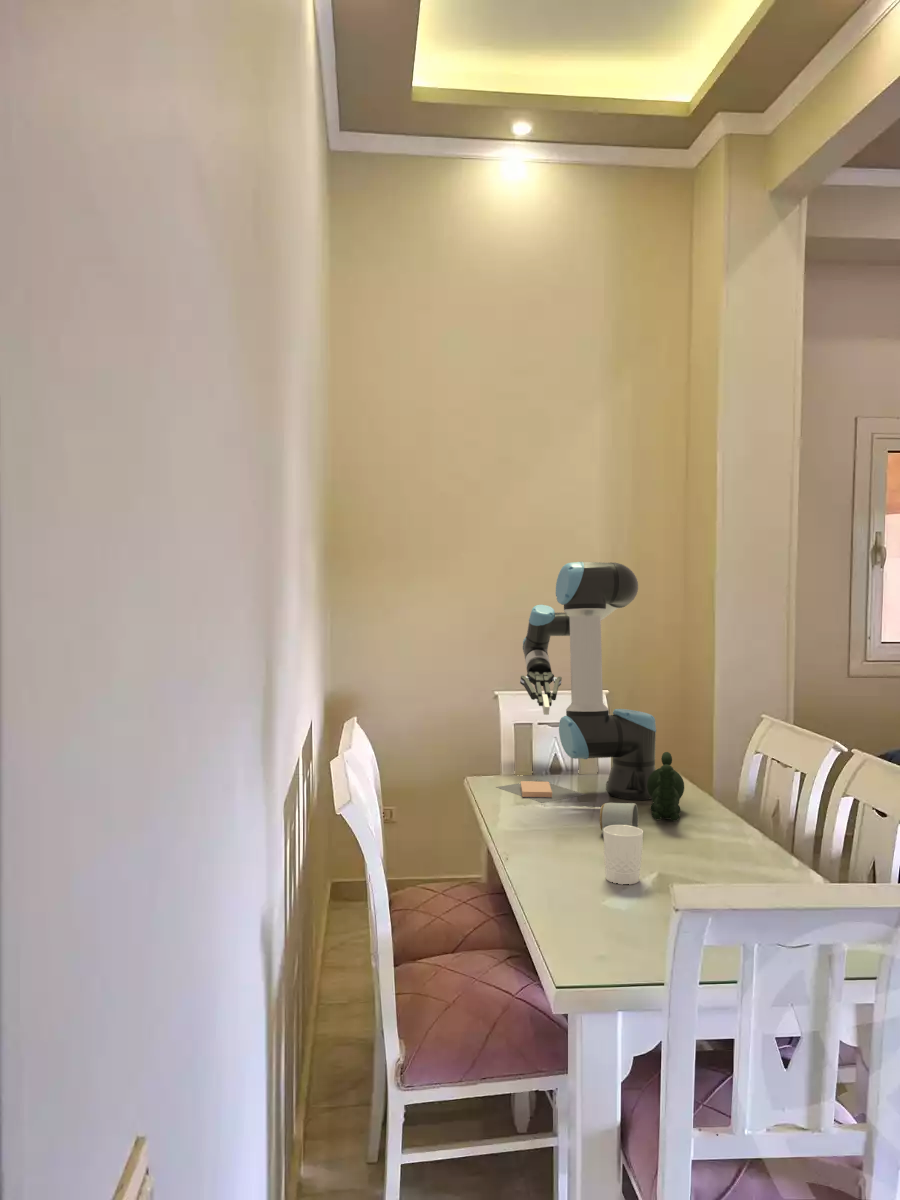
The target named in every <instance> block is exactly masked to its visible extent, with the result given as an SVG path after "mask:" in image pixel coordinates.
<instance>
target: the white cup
mask: <svg viewBox="0 0 900 1200" xmlns="http://www.w3.org/2000/svg"><path fill="white" fill-rule="evenodd" d="M603 832H604V837H603V858H604V866H605V869H604V870H605V872H604V873H605V879H606V880H607V882H611V883H612V882H613V884H616V883H618V884H617V885H623V884H629V885H635V884H637V883H639V882H640V876H641V874H640V873H641V868H642V855H643V845H644V844H643V842H644V841H643V839H644V830H643V829H642V828H639V827H638V828H637V827H634V826H629V825H610V826H607V827H605V828H604V829H603Z"/></svg>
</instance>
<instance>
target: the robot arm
mask: <svg viewBox="0 0 900 1200" xmlns="http://www.w3.org/2000/svg"><path fill="white" fill-rule="evenodd" d="M557 575H558V576H557V579H556V583H555V597H556V600H557V601H556V602H557V603H558V604H560V605H563V611H564V612H556V611H555V608H553V607H552V606H550V605H545V604H537V605H535V606H534V605H533V607H532V609H531V611H530V615H529V618H528V625H527V632H526V636H525V637H524V638H523V641H522V651H523V654H524V656H523V657H524V662H525V668H526V673H527V674H526V676H525V675H523V674H522V675H520V682H519V684H521V685H522V686H523V687H524V689H525V690H526V692H527V694H528V696H529V697H530V699H531V700H536V703H537V704H538V706H539V707H542V713H543V715H546V716H548V715H550V707H551V706H552V704H553V701H556V700H557V695H558V690H559V687H560V686H561V685H562V679H563V678H562V676H557V677H556V676H555V674H554V673H553V671H552V667H551V662H550V657H549V653H548V650H549V645H550V641H551V637H569V648H570V649H569V653H570V654H569V656H570V686H571V687H570V688H571V689H570V691H571V693H570V695H571V699H570V700H571V702H570V705H568V707H567V708H566V709H565V711H566V713H565V714H566V715H564V716H562V717H561V718H560V720H559V724H558V734H559V735H558V736H559V739H560V740H559V741H560V743H561V746H562V749H563V751H564V752H565V754H566V755H567V756H568V757H569V758H571V759H577V760H581V759H583V760H588V759H606V758H612V765H611V768H610V772H609V775H608V779H607V781H606V784H605V791H606V792H607V794H608V795H609V796H611V797H613V798H618V799H623V800H624V799H625V800H632V801H633V800H634V801H644V800H645V801H646V800H652V798H651V796H650V795H649V792H648V789H647V781H648V778H649V776H650V775H651V773H652V772H654V771H655V770H657V769H656V741H657V740H656V737H657V735H656V733H657V728H656V727H657V726H656V719H655V717H654V716H653V715H652V714H650V713H647V712H643V711H639V710H633V709H628V708H627V709H626V708H615V709H613V711H612V714H610V712H609V711H610V709H609V708H608V706H607V705H605V704H604V701H603V700H604V697H603V696H604V693H603V661H602V660H603V659H602V658H603V657H602V656H603V654H602V624H601V623H602V622H601V621H602V620H604V619H605V618H607V617H608V616H610V615H611V614H612V613H613V612H614V611H616V610H617V609H622V608H626V607H627V606H628V605H630V603H632V602H633V601H634V600H635V598H636V597H637V595H638V590H639V581H638V579H637V576H636V575H635V573H634V572H633V570H631V568H629V567H628V566H626V565H624V564H622V563H620V562H602V561H600V562H598V561H596V562H595V561H577V562H576V561H575V562H573V561H572V562H567V563H565V564H564V565H563V566H562V567H561V568H560V571H559V573H558V574H557ZM552 682H553V688H552V691H551V689H550V685H551V683H552ZM533 685H534V686H533ZM542 688H543V691H542ZM543 693H544V694H543Z"/></svg>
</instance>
